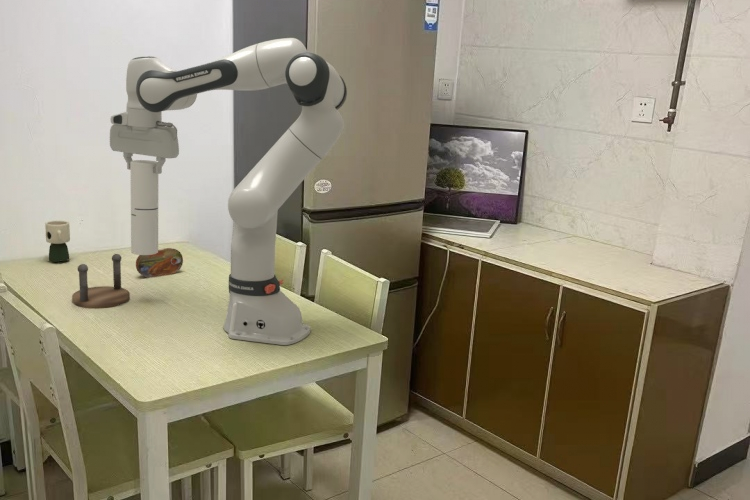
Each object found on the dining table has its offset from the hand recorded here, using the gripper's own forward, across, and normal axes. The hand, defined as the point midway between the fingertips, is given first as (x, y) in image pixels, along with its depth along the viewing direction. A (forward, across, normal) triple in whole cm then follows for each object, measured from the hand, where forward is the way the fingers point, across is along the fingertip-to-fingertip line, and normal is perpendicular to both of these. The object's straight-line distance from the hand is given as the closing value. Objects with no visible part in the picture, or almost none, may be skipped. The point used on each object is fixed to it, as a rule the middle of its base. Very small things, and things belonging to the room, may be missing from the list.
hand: (144, 171), depth 186 cm
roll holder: (+37, +10, +6) cm, 39 cm away
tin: (+37, +12, -22) cm, 45 cm away
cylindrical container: (+23, 0, 0) cm, 23 cm away
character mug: (+37, +48, -17) cm, 64 cm away
